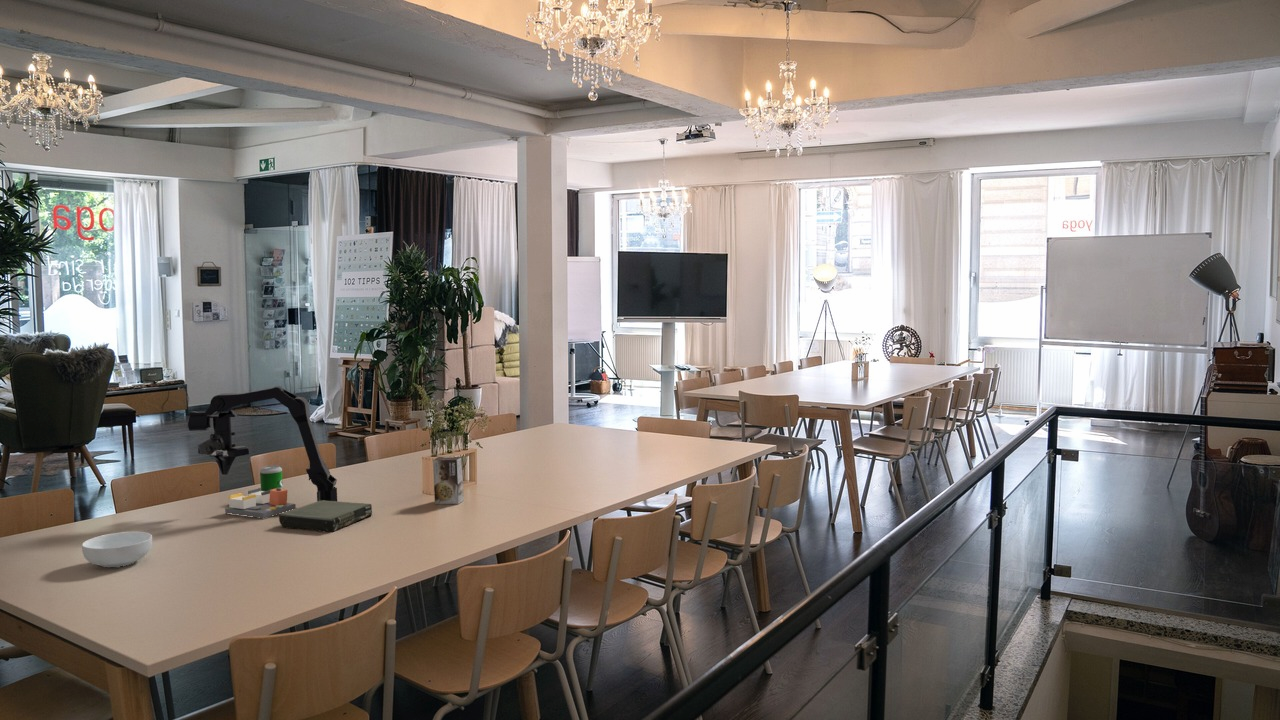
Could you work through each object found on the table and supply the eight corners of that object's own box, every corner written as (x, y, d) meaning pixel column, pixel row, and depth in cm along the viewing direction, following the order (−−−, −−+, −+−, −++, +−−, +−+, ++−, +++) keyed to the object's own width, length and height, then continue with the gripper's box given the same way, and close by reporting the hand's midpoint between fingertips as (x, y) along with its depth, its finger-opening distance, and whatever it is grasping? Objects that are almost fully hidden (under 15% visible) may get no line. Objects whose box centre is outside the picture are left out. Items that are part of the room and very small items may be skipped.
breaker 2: (274, 500, 309) (273, 489, 308) (262, 503, 304) (262, 492, 304) (260, 499, 312) (259, 488, 311) (248, 502, 307) (248, 490, 307)
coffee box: (464, 500, 316) (462, 456, 315) (458, 504, 310) (457, 459, 308) (439, 499, 317) (438, 456, 316) (433, 504, 310) (432, 459, 309)
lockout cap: (286, 503, 306) (287, 488, 305) (277, 506, 302) (278, 490, 301) (278, 501, 307) (279, 486, 306) (269, 503, 304) (270, 488, 303)
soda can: (278, 501, 318) (276, 468, 318) (257, 501, 319) (256, 469, 318) (286, 496, 326) (285, 464, 325) (266, 496, 326) (265, 465, 325)
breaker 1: (255, 505, 301) (255, 494, 301) (243, 509, 297) (243, 497, 297) (241, 504, 304) (240, 492, 304) (229, 507, 300) (228, 495, 300)
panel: (295, 509, 305) (295, 502, 305) (263, 519, 293) (263, 511, 292) (258, 505, 313) (258, 498, 313) (225, 514, 300) (225, 506, 300)
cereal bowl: (74, 576, 234) (72, 550, 234) (94, 558, 250) (92, 534, 250) (144, 569, 239) (143, 544, 239) (159, 552, 255) (158, 529, 255)
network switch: (339, 534, 274) (339, 518, 273) (273, 531, 279) (272, 515, 278) (376, 515, 297) (376, 501, 296) (314, 513, 301) (313, 499, 301)
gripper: (183, 432, 299) (185, 477, 300) (221, 435, 291) (224, 481, 292) (211, 427, 309) (213, 470, 310) (249, 430, 301) (251, 474, 302)
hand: (224, 474), depth 303 cm, fingers closed
